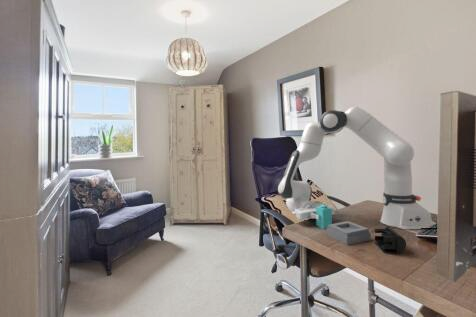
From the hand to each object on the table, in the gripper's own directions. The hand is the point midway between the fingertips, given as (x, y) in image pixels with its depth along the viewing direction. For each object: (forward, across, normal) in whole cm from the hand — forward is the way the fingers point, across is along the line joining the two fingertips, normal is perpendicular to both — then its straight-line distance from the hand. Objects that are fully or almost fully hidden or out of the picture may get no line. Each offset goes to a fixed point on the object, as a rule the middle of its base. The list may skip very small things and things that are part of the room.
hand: (325, 216), depth 121 cm
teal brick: (-1, 0, +5) cm, 5 cm away
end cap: (+29, +6, +5) cm, 30 cm away
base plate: (+14, 0, +5) cm, 15 cm away
